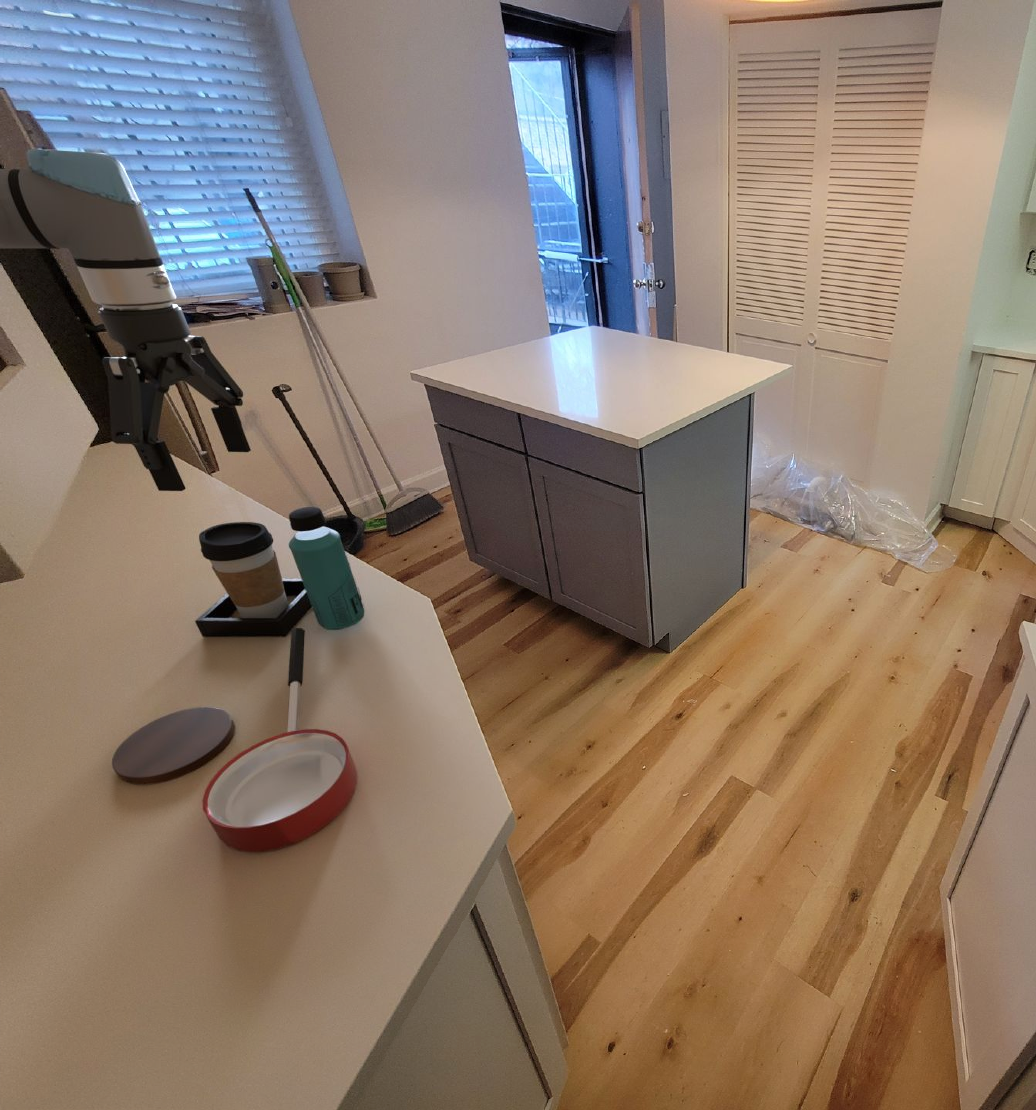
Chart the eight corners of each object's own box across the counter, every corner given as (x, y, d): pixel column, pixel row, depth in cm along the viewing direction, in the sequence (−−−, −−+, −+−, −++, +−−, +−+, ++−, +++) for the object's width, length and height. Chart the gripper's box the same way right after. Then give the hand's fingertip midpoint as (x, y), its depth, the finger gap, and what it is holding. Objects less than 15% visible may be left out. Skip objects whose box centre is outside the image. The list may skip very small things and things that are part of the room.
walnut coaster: (89, 785, 68) (84, 778, 67) (162, 713, 77) (158, 707, 77) (195, 783, 69) (191, 776, 68) (254, 712, 78) (251, 706, 78)
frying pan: (231, 683, 82) (214, 646, 79) (342, 653, 89) (330, 618, 86) (213, 877, 60) (187, 837, 57) (364, 819, 66) (348, 780, 63)
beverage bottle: (366, 634, 93) (328, 518, 83) (315, 642, 91) (271, 524, 80) (371, 610, 98) (336, 498, 88) (323, 617, 96) (282, 503, 86)
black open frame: (202, 637, 90) (194, 621, 89) (250, 593, 100) (244, 578, 99) (285, 637, 91) (278, 621, 90) (324, 593, 101) (319, 578, 100)
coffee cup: (245, 602, 98) (209, 520, 90) (305, 596, 100) (275, 515, 93) (224, 633, 91) (184, 547, 83) (289, 626, 93) (256, 542, 86)
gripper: (84, 325, 62) (171, 510, 73) (238, 291, 83) (288, 438, 94) (3, 322, 61) (104, 509, 72) (179, 289, 83) (236, 437, 94)
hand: (208, 469), depth 83 cm, fingers open, 13 cm apart
